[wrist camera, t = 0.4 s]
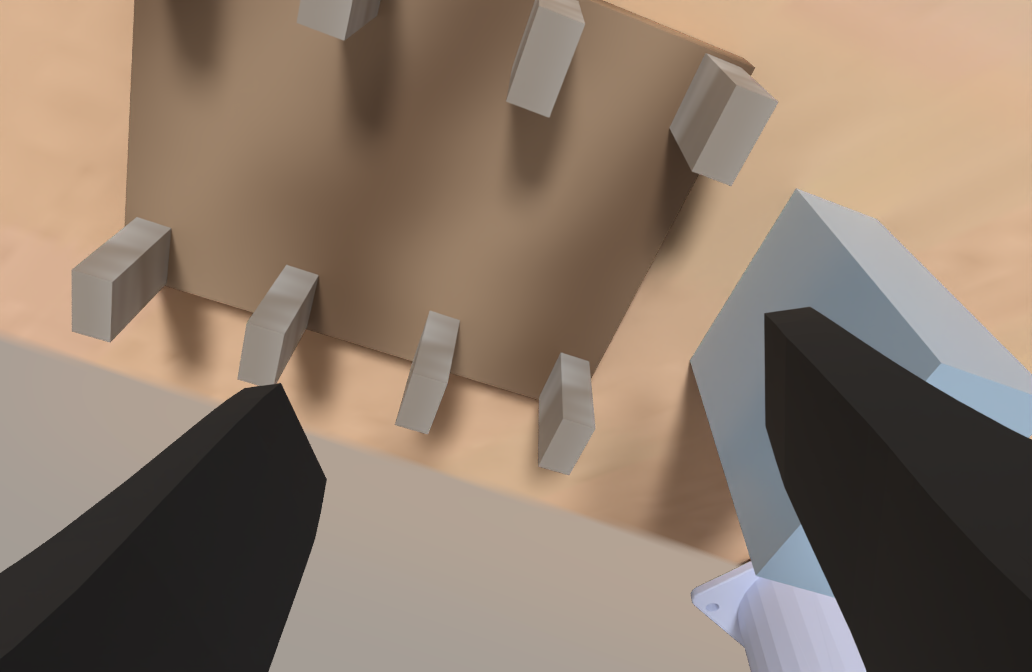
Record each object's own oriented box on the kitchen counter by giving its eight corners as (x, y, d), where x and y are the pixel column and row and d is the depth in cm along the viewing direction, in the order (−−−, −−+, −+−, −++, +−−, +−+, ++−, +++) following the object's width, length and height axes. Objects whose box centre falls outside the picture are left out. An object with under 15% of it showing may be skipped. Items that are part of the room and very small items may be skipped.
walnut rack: (744, 58, 16) (794, 102, 13) (573, 390, 22) (577, 480, 19) (166, -179, 14) (50, -199, 11) (140, 256, 20) (58, 331, 17)
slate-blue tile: (876, 219, 19) (1061, 404, 12) (760, 383, 22) (856, 603, 15) (795, 188, 18) (941, 362, 12) (689, 360, 21) (755, 576, 15)
